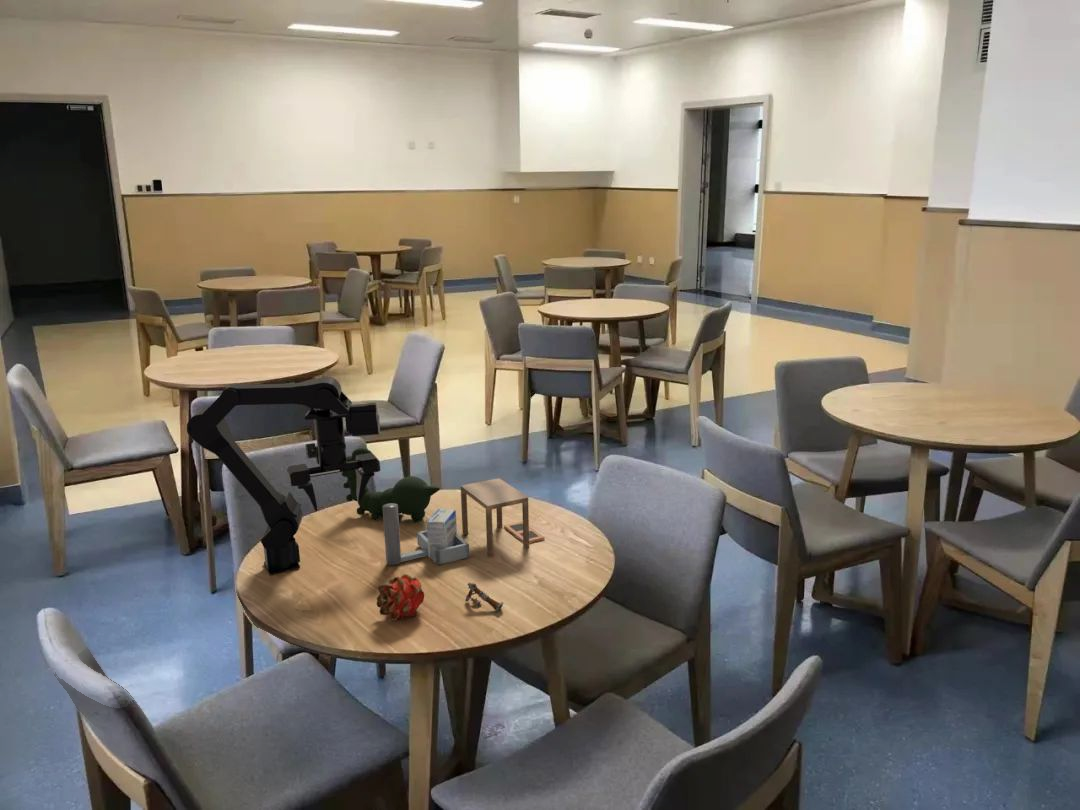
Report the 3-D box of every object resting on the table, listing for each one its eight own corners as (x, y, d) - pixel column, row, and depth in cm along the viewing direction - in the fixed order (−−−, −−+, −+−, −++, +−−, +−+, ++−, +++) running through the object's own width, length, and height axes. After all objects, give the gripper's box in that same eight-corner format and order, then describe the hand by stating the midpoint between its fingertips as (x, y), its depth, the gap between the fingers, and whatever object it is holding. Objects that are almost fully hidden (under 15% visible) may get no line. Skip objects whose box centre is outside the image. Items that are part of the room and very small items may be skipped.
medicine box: (447, 559, 179) (445, 522, 176) (427, 558, 180) (425, 521, 177) (457, 544, 186) (456, 509, 184) (439, 543, 187) (437, 508, 185)
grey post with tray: (395, 574, 172) (392, 516, 168) (378, 553, 182) (374, 498, 179) (469, 556, 179) (467, 501, 176) (448, 537, 190) (446, 484, 186)
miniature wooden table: (489, 556, 180) (487, 505, 177) (462, 533, 193) (460, 485, 190) (529, 547, 185) (528, 497, 182) (500, 524, 197) (499, 478, 194)
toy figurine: (343, 527, 202) (436, 528, 195) (331, 454, 198) (425, 452, 190) (361, 513, 211) (451, 513, 203) (350, 442, 206) (441, 440, 199)
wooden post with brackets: (464, 595, 161) (471, 578, 160) (496, 618, 159) (504, 601, 157) (459, 599, 160) (466, 582, 158) (491, 623, 157) (499, 605, 155)
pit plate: (525, 544, 186) (525, 541, 186) (504, 527, 196) (504, 525, 196) (544, 539, 189) (544, 536, 189) (522, 523, 198) (522, 520, 198)
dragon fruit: (383, 638, 151) (411, 615, 162) (418, 617, 148) (443, 595, 160) (359, 599, 151) (388, 579, 163) (393, 577, 149) (420, 558, 160)
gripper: (365, 421, 182) (371, 487, 186) (279, 434, 175) (287, 502, 179) (378, 434, 173) (383, 503, 177) (287, 448, 165) (295, 520, 169)
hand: (337, 506), depth 176 cm, fingers open, 9 cm apart
